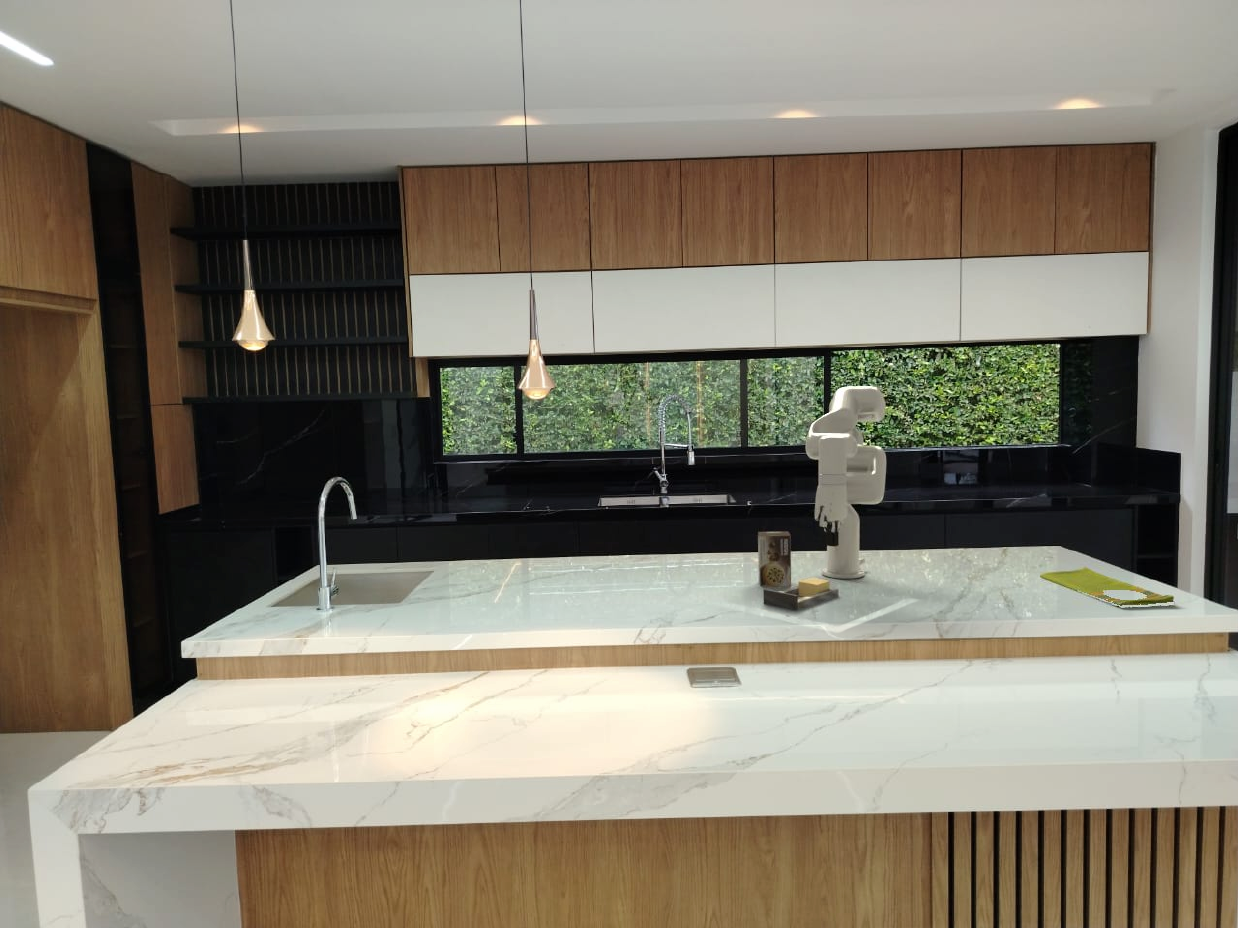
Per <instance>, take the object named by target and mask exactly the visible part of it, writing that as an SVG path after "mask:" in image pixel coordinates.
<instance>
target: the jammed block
mask: <svg viewBox="0 0 1238 928" xmlns="http://www.w3.org/2000/svg"><path fill="white" fill-rule="evenodd" d="M830 584H831V583H830V580H827V579H820V578H817V577H816V578H815V577H808V578H805V579H802V580H799V581H798V585H797V586H798V597H801V598H803V597H808V596H811V595H814V594H817V593H820V592H823V591H826V590H829V589H831V587H830Z"/></svg>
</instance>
